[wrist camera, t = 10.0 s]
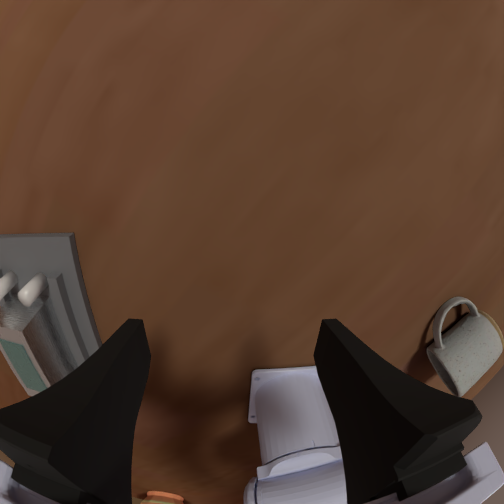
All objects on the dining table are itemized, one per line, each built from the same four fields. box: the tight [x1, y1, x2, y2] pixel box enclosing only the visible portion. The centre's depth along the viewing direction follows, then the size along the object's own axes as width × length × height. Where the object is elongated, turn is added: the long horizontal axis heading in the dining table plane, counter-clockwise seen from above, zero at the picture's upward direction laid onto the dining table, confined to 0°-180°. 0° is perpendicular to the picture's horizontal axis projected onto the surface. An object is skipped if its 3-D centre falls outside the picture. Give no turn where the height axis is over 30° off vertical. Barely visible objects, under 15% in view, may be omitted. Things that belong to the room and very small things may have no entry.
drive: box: [0, 292, 78, 396], centre depth 18 cm, size 9×5×5 cm, turn 178°
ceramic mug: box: [427, 297, 504, 397], centre depth 22 cm, size 11×8×8 cm
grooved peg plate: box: [0, 233, 102, 367], centre depth 19 cm, size 20×12×4 cm, turn 177°
